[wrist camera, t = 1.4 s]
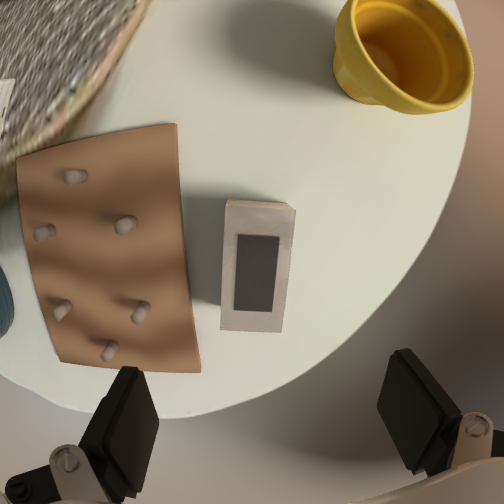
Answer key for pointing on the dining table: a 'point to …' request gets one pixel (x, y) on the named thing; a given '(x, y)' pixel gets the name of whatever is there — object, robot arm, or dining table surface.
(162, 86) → the dining table surface
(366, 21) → the plant pot
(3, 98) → the hard drive
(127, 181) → the wooden peg board
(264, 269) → the block
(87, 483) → the robot arm
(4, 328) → the canister
